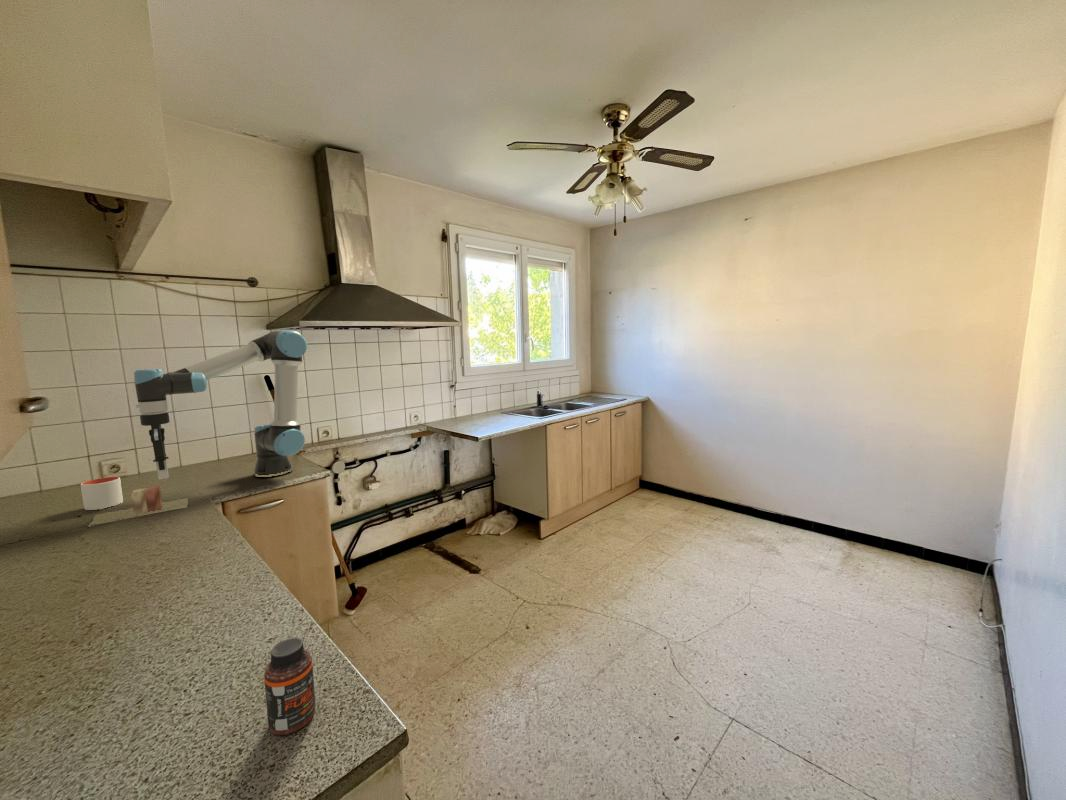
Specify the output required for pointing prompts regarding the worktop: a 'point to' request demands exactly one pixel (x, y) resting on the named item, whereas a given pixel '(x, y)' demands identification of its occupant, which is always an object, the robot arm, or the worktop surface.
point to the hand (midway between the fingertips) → (163, 478)
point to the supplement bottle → (289, 687)
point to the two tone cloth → (146, 500)
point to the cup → (101, 493)
